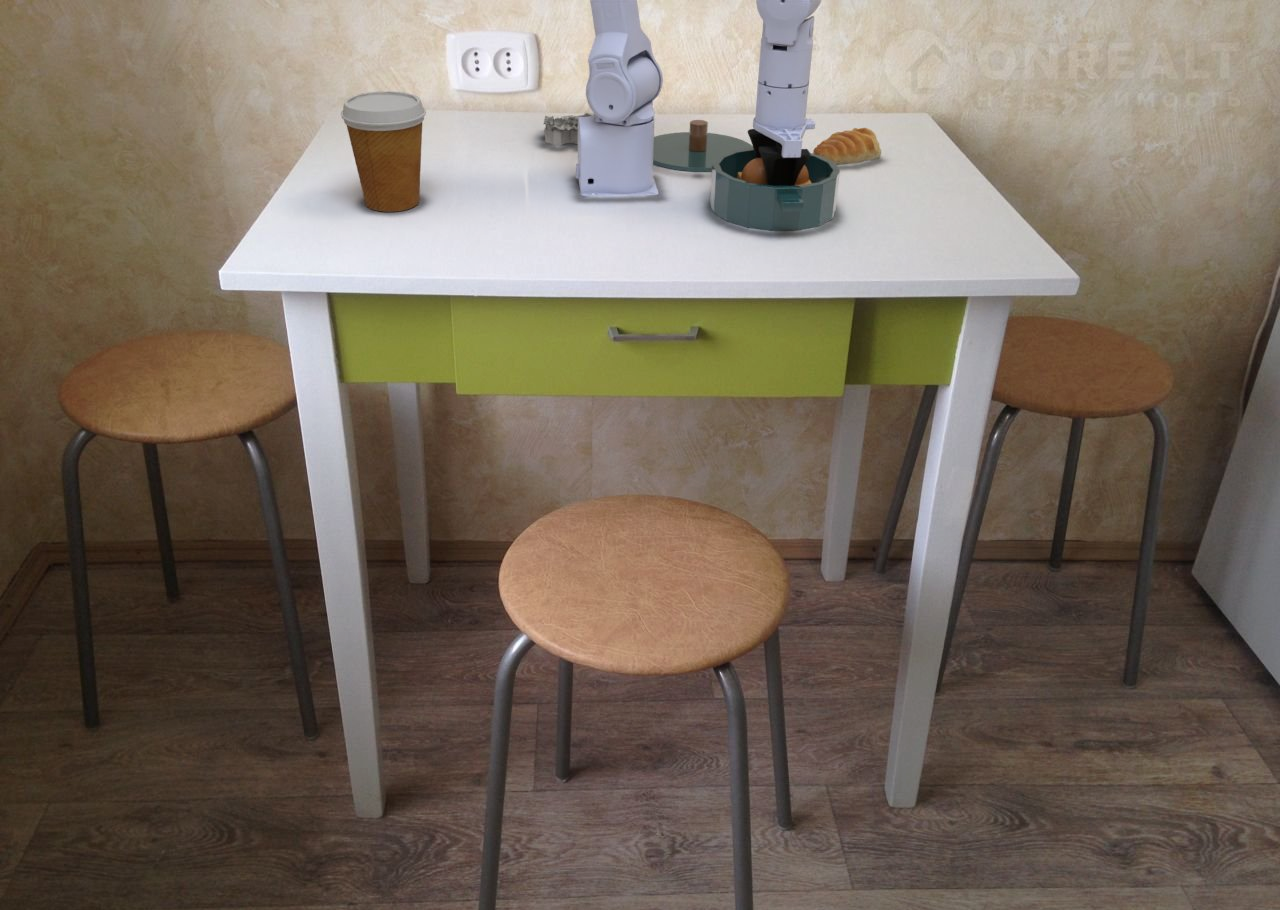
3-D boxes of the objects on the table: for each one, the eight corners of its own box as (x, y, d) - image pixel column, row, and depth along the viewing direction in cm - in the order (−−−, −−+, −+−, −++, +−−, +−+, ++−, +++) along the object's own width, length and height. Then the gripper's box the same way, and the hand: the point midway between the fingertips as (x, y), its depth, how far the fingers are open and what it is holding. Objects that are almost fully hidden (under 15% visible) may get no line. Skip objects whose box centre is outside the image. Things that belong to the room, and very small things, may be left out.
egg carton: (621, 135, 161) (622, 106, 158) (620, 152, 154) (620, 121, 152) (545, 133, 161) (545, 103, 158) (541, 149, 154) (540, 119, 152)
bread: (742, 215, 133) (746, 165, 130) (735, 201, 137) (738, 151, 134) (810, 214, 134) (815, 164, 131) (800, 200, 138) (805, 151, 135)
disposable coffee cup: (402, 184, 141) (393, 85, 135) (448, 204, 136) (441, 102, 129) (335, 201, 136) (323, 99, 129) (381, 223, 130) (370, 117, 124)
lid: (645, 177, 146) (646, 140, 143) (633, 140, 159) (634, 106, 156) (765, 175, 147) (768, 139, 145) (744, 139, 160) (746, 105, 158)
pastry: (836, 174, 148) (839, 144, 146) (799, 161, 153) (801, 132, 151) (884, 160, 153) (887, 132, 151) (846, 148, 158) (849, 121, 156)
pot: (725, 244, 127) (728, 197, 124) (699, 184, 144) (701, 141, 141) (853, 242, 128) (859, 195, 125) (813, 183, 145) (817, 140, 142)
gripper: (834, 99, 122) (820, 220, 129) (804, 65, 134) (793, 178, 141) (769, 99, 121) (759, 221, 129) (745, 66, 134) (737, 179, 141)
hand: (773, 199), depth 135 cm, fingers closed on bread, 5 cm apart
